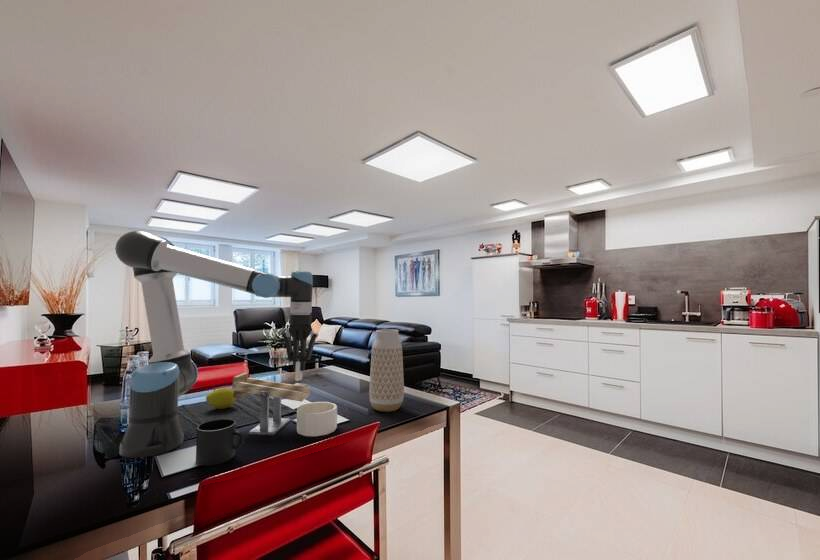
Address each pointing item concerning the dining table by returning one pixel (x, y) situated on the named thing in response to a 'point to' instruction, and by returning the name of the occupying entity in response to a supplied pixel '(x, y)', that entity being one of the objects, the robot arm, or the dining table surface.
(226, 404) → the lemon
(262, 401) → the stand
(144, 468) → the dining table surface
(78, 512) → the dining table surface
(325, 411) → the pot
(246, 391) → the lever
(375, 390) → the vase
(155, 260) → the robot arm
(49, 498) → the dining table surface
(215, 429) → the mug
